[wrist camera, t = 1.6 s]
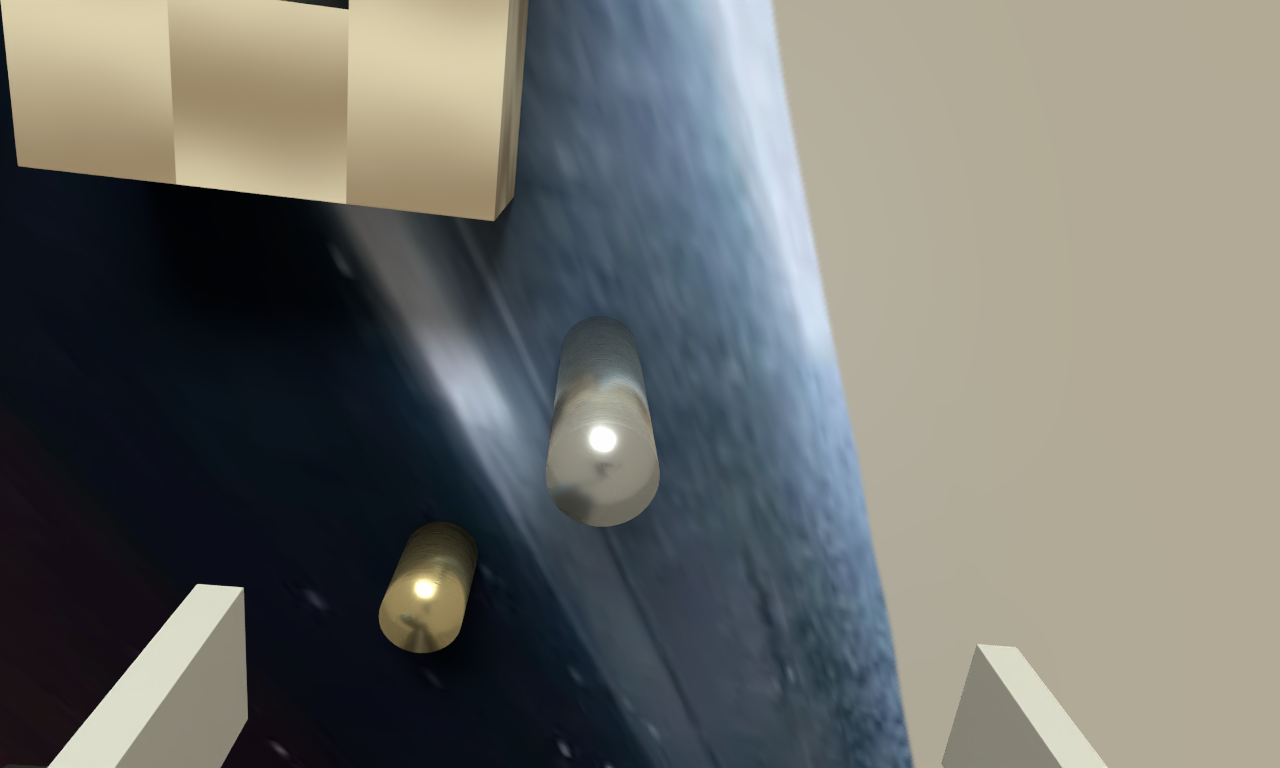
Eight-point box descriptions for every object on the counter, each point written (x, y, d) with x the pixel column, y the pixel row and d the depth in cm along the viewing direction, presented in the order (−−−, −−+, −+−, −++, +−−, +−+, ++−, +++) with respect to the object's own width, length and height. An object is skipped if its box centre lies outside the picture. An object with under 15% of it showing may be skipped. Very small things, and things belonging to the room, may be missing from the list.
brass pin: (475, 586, 38) (459, 655, 34) (404, 581, 38) (377, 649, 33) (480, 524, 37) (464, 586, 33) (406, 518, 37) (379, 579, 32)
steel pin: (633, 393, 36) (652, 530, 24) (557, 386, 35) (541, 521, 24) (642, 320, 35) (666, 428, 23) (564, 312, 34) (551, 417, 23)
